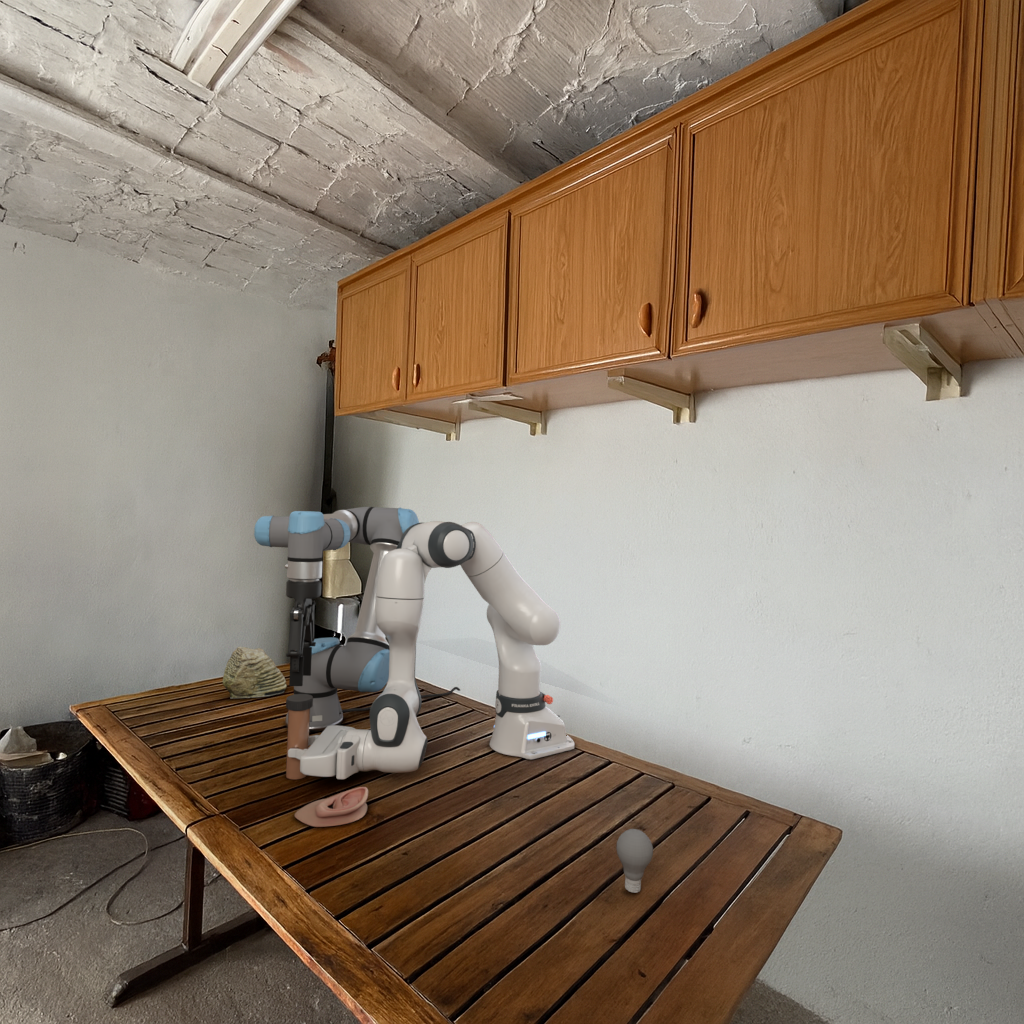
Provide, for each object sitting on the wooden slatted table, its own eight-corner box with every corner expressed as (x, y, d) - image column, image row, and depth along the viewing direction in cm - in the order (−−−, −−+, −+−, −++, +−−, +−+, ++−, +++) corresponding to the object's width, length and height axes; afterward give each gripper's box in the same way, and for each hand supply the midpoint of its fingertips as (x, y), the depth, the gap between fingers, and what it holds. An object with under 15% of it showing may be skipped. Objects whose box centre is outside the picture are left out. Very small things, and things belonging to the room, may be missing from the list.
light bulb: (610, 879, 108) (613, 822, 108) (644, 879, 109) (647, 822, 109) (619, 902, 102) (622, 840, 102) (655, 901, 103) (658, 840, 103)
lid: (282, 704, 144) (283, 695, 144) (308, 701, 147) (308, 692, 147) (290, 712, 139) (290, 703, 139) (316, 708, 143) (316, 699, 143)
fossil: (218, 695, 195) (220, 647, 195) (278, 685, 208) (279, 640, 207) (228, 703, 189) (230, 653, 188) (289, 692, 201) (290, 645, 201)
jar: (283, 773, 144) (286, 698, 144) (303, 769, 147) (306, 695, 147) (289, 781, 140) (292, 704, 140) (310, 776, 143) (313, 700, 143)
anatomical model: (286, 802, 122) (316, 777, 134) (285, 822, 122) (315, 795, 134) (350, 811, 120) (375, 785, 131) (349, 832, 120) (374, 804, 131)
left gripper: (297, 573, 153) (294, 667, 153) (274, 585, 132) (270, 693, 133) (329, 574, 153) (326, 668, 154) (311, 586, 133) (307, 694, 133)
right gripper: (366, 720, 154) (309, 717, 154) (342, 753, 133) (277, 750, 133) (365, 745, 154) (308, 743, 154) (341, 783, 133) (276, 780, 133)
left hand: (300, 680), depth 143 cm, fingers open, 7 cm apart
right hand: (293, 746), depth 143 cm, fingers closed on jar, 5 cm apart
